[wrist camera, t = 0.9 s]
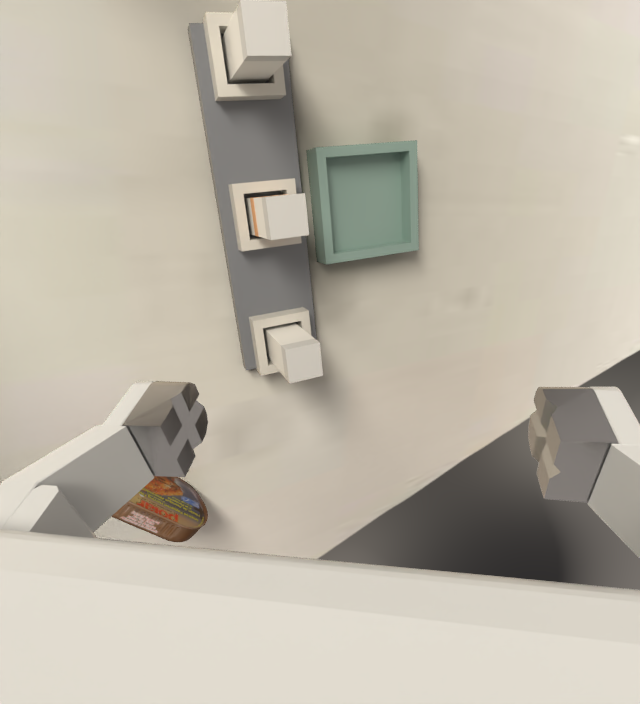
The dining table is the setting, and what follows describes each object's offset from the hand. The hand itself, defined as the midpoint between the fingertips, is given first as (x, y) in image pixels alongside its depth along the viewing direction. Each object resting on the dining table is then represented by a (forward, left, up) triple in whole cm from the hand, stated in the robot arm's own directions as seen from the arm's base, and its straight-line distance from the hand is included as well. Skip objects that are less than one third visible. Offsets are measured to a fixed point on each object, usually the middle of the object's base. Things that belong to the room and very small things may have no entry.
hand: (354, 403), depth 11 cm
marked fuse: (+4, +7, -39) cm, 40 cm away
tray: (+12, +16, -41) cm, 46 cm away
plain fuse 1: (-6, +17, -39) cm, 43 cm away
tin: (+11, -25, -41) cm, 49 cm away
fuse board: (+4, +7, -41) cm, 42 cm away
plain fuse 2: (+14, -2, -39) cm, 42 cm away
